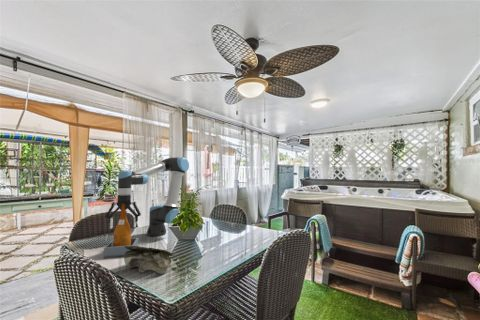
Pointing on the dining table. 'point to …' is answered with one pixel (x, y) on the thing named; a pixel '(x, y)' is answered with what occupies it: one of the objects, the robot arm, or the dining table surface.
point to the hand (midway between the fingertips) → (123, 227)
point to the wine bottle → (122, 230)
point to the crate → (118, 249)
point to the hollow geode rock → (147, 258)
